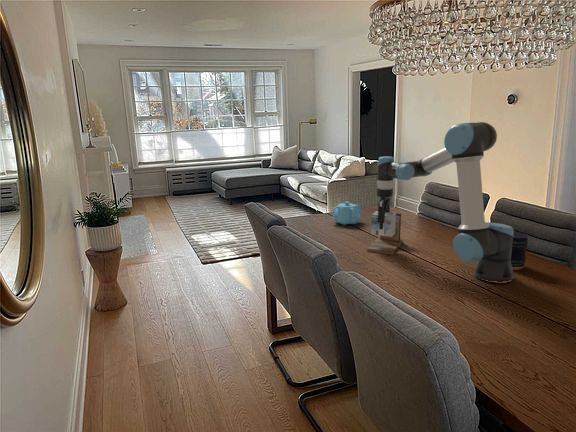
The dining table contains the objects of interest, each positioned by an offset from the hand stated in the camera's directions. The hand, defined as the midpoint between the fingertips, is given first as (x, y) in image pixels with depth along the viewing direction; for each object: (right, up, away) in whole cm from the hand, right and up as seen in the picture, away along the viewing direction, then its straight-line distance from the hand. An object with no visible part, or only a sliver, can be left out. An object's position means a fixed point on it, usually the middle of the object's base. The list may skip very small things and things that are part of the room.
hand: (383, 233), depth 224 cm
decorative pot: (-11, +4, +53) cm, 55 cm away
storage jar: (+53, -14, -25) cm, 60 cm away
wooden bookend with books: (+3, -7, +6) cm, 10 cm away
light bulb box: (0, -1, 0) cm, 1 cm away
